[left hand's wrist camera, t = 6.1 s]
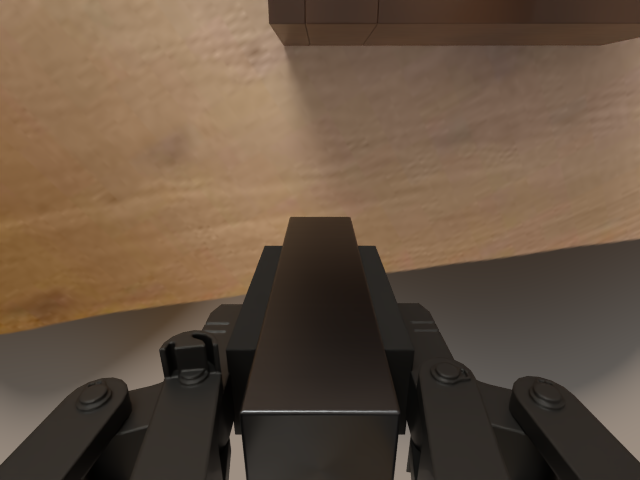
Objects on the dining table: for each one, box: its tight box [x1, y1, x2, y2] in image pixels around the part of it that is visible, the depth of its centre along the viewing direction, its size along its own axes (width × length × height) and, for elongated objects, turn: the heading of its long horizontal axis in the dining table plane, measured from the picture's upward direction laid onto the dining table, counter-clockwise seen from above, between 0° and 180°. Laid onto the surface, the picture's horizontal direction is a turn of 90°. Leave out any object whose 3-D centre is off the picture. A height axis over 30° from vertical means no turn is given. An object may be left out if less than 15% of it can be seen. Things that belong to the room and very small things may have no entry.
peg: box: [239, 217, 401, 480], centre depth 13 cm, size 3×3×12 cm
